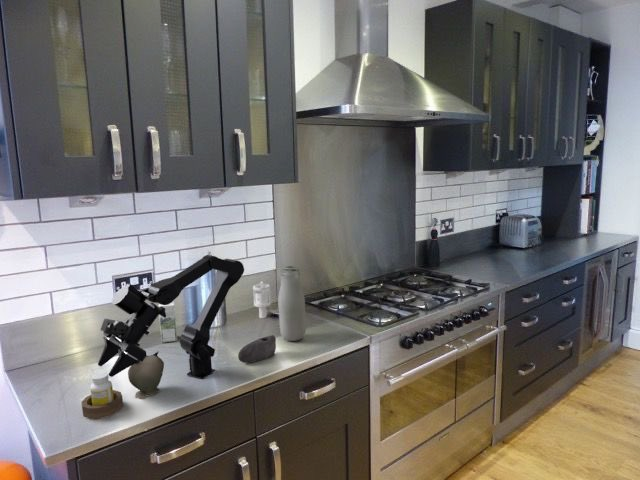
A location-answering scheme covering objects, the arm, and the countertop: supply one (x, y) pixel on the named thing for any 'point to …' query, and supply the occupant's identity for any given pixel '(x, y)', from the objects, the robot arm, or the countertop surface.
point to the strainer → (261, 298)
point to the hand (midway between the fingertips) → (104, 370)
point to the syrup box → (168, 324)
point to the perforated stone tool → (258, 349)
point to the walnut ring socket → (102, 407)
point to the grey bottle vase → (291, 305)
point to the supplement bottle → (101, 390)
